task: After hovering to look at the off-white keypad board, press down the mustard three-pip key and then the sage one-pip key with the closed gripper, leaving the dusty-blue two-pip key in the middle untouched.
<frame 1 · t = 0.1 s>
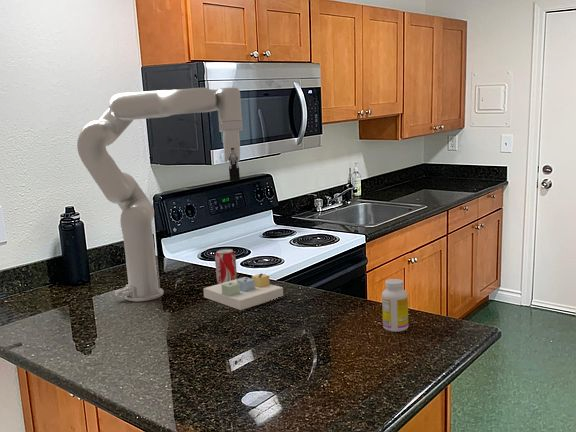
hand: (234, 179, 193), 37 cm above the countertop, tool pointing down, fingers open, 9 cm apart
tile three pip: (260, 281, 191), point 4 cm above the countertop, slide at 0.0 cm
soda can: (227, 284, 205), on the countertop
tile one pip: (230, 290, 184), point 4 cm above the countertop, slide at 0.0 cm
tile two pip: (246, 285, 187), point 4 cm above the countertop, slide at 0.0 cm
keypad board: (243, 296, 190), on the countertop
supplement bottle: (395, 328, 156), on the countertop
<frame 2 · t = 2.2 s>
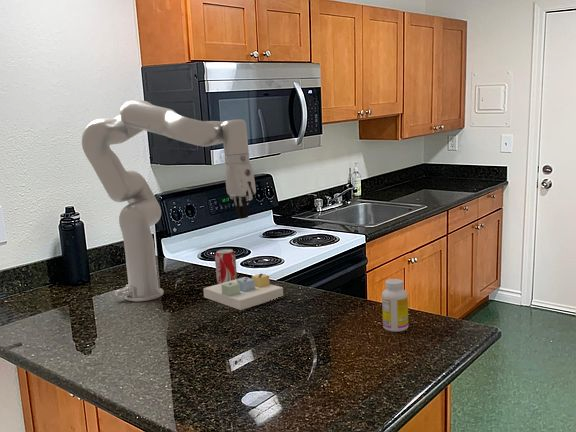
hand: (242, 217, 185), 26 cm above the countertop, tool pointing down, fingers closed
nothing on the countertop moved.
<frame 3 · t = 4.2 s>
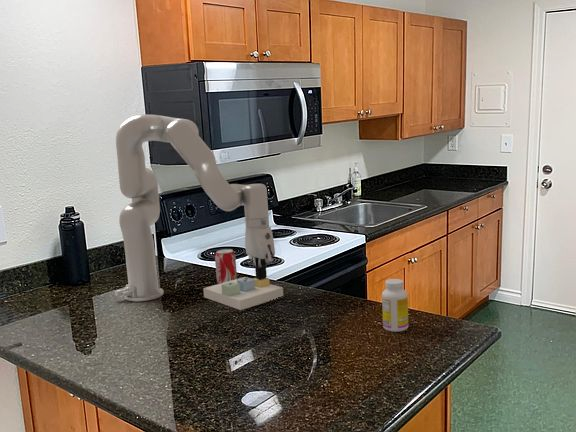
hand: (261, 277, 191), 5 cm above the countertop, tool pointing down, fingers closed
tile three pip: (261, 284, 191), point 3 cm above the countertop, slide at 0.9 cm, touching gripper
everything else where it was.
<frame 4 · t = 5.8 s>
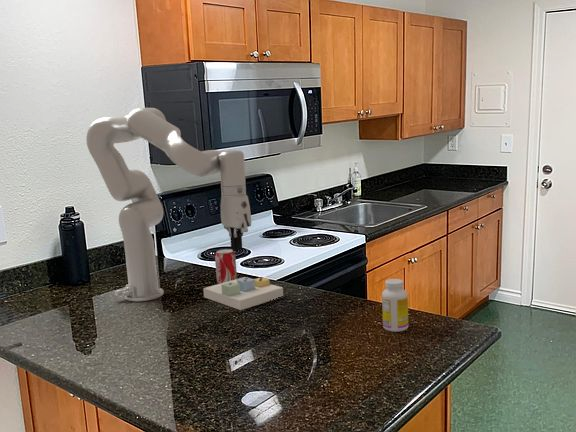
hand: (236, 248, 184), 17 cm above the countertop, tool pointing down, fingers closed
tile three pip: (261, 285, 191), point 3 cm above the countertop, slide at 1.2 cm
everything else where it was.
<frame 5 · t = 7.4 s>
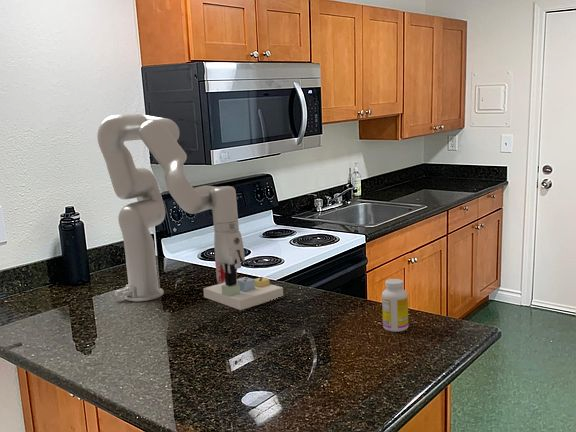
hand: (231, 284, 183), 6 cm above the countertop, tool pointing down, fingers closed
tile one pip: (230, 290, 184), point 4 cm above the countertop, slide at 0.3 cm, touching gripper
everything else where it was.
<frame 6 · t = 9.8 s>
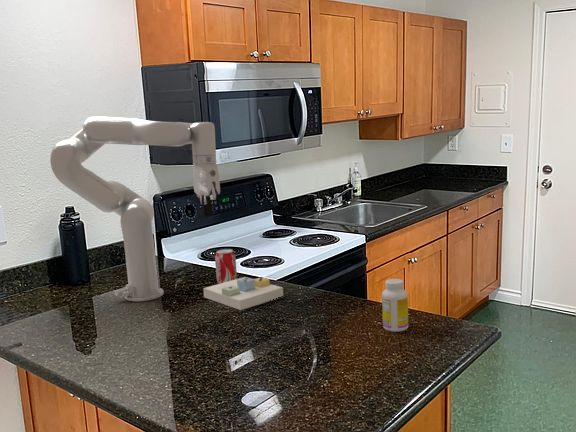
hand: (207, 215, 194), 26 cm above the countertop, tool pointing down, fingers closed
tile one pip: (231, 293, 184), point 3 cm above the countertop, slide at 1.2 cm
everything else where it was.
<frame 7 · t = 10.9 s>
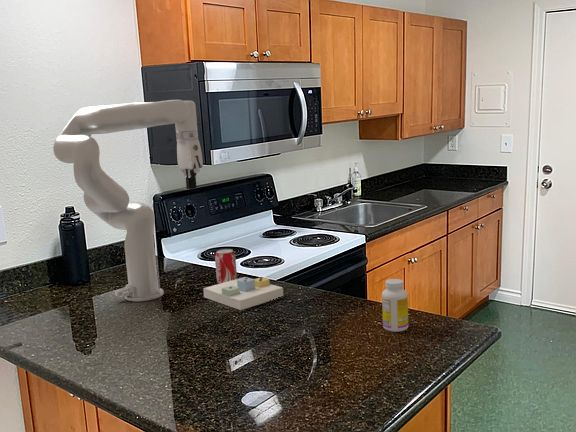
hand: (191, 188, 209), 33 cm above the countertop, tool pointing down, fingers closed
nothing on the countertop moved.
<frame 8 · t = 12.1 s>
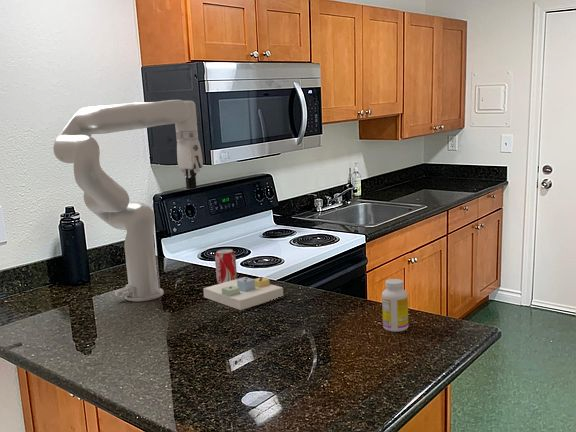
hand: (191, 188, 209), 33 cm above the countertop, tool pointing down, fingers closed
nothing on the countertop moved.
at the end: tile three pip slide at 1.2 cm; tile one pip slide at 1.2 cm; tile two pip slide at 0.0 cm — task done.
